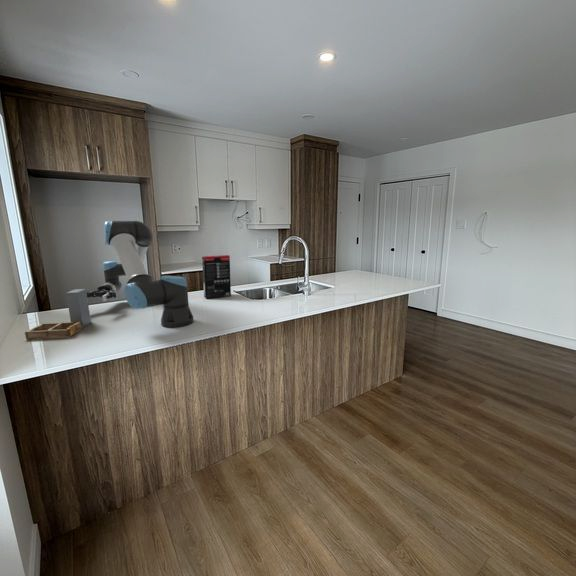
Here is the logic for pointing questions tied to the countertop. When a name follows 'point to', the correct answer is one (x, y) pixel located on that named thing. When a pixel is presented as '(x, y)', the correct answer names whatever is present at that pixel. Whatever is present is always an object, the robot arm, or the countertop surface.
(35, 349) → the countertop surface
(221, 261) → the graphics card box
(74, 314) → the block
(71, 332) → the divided wooden tray
